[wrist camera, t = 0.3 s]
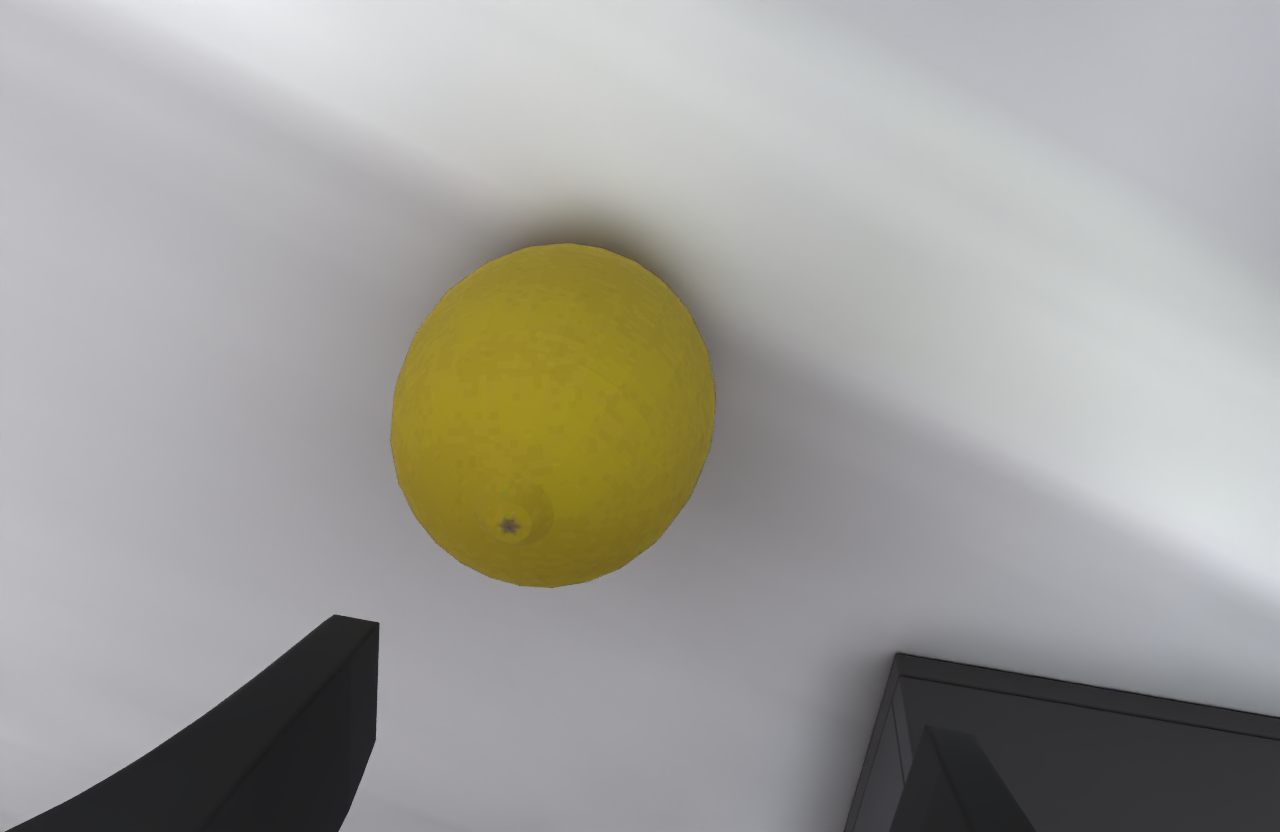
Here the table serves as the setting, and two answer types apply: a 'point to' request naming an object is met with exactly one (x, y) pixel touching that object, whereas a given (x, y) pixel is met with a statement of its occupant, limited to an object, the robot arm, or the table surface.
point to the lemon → (553, 415)
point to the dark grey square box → (1079, 753)
